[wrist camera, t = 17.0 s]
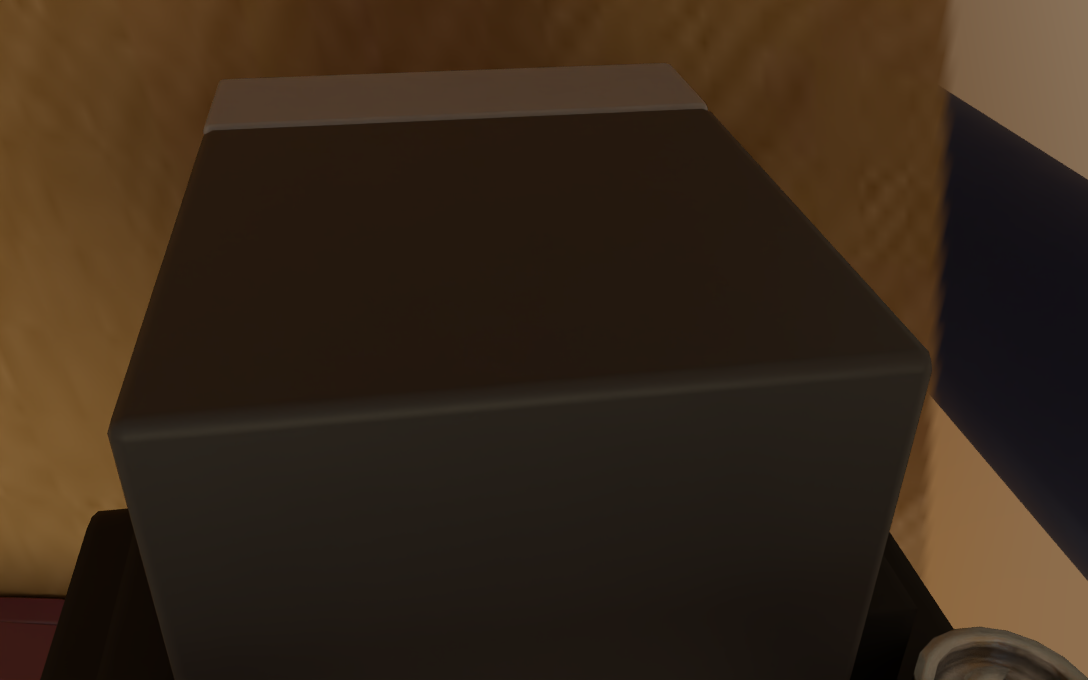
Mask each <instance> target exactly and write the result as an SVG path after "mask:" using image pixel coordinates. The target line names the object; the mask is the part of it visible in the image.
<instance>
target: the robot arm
mask: <svg viewBox="0 0 1088 680" xmlns="http://www.w3.org/2000/svg"><path fill="white" fill-rule="evenodd" d="M40 680H175V679H174V676H173V672H172V668H171V665H170V661H169V657H168V654H167V650H166V646H165V643H164V639H163V635H162V632H161V628H160V624H159V621H158V617H157V613H156V610H155V606H154V602H153V599H152V595H151V591H150V588H149V584H148V580H147V577H146V573H145V569H144V566H143V562H142V558H141V555H140V551H139V547H138V544H137V540H136V536H135V533H134V529H133V525H132V522H131V518H130V514H129V511H128V509H118V510H108V511H98V512H97V513H96V514H95V515H94V516H93V517H92V518H91V521H90V523H89V525H88V527H87V530H86V533H85V536H84V540H83V543H82V546H81V549H80V553H79V556H78V559H77V562H76V566H75V569H74V572H73V575H72V578H71V582H70V585H69V588H68V591H67V595H66V598H65V601H64V604H63V607H62V611H61V614H60V617H59V620H58V624H57V627H56V630H55V633H54V636H53V640H52V643H51V646H50V649H49V653H48V656H47V659H46V662H45V666H44V669H43V672H42V675H41V678H40ZM850 680H1088V678H1087V677H1086V676H1085V675H1084V674H1083V673H1081V672H1080V671H1079V670H1078V669H1077V668H1076V667H1075V666H1073V665H1072V664H1071V663H1070V662H1069V661H1068V660H1067V659H1065V658H1064V657H1063V656H1061V655H1059V654H1057V653H1056V652H1054V651H1052V650H1051V649H1049V648H1047V647H1046V646H1044V645H1042V644H1040V643H1039V642H1037V641H1034V640H1032V639H1029V638H1026V637H1023V636H1021V635H1018V634H1015V633H1012V632H1009V631H1005V630H998V629H991V628H984V627H972V628H962V629H953V627H952V626H951V624H950V623H949V621H948V620H947V618H946V617H945V615H944V614H943V613H942V611H941V609H940V608H939V606H938V605H937V603H936V602H935V600H934V599H933V597H932V596H931V594H930V593H929V591H928V590H927V588H926V586H925V585H924V583H923V582H922V580H921V579H920V577H919V576H918V574H917V573H916V571H915V570H914V568H913V567H912V565H911V564H910V562H909V561H908V559H907V558H906V556H905V555H904V553H903V552H902V550H901V549H900V547H899V546H898V544H897V543H896V541H895V540H894V538H893V537H892V535H891V534H890V532H889V534H888V538H887V542H886V546H885V550H884V553H883V557H882V561H881V565H880V568H879V572H878V576H877V580H876V583H875V587H874V591H873V595H872V599H871V602H870V606H869V610H868V614H867V617H866V621H865V625H864V629H863V632H862V636H861V640H860V644H859V648H858V651H857V655H856V659H855V663H854V666H853V670H852V674H851V678H850Z"/></svg>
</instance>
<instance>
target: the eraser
mask: <svg viewBox="0 0 1088 680" xmlns="http://www.w3.org/2000/svg"><path fill="white" fill-rule="evenodd" d="M203 133H204V136H203V139H202V142H201V145H200V148H199V151H198V154H197V157H196V160H195V163H194V166H193V169H192V172H191V176H190V179H189V182H188V185H187V188H186V191H185V194H184V197H183V200H182V203H181V206H180V209H179V212H178V215H177V219H176V222H175V225H174V228H173V231H172V234H171V237H170V240H169V243H168V246H167V249H166V252H165V255H164V259H163V262H162V265H161V268H160V271H159V274H158V277H157V280H156V283H155V286H154V289H153V292H152V295H151V298H150V302H149V305H148V308H147V311H146V314H145V317H144V320H143V323H142V326H141V329H140V332H139V335H138V338H137V342H136V345H135V348H134V351H133V354H132V357H131V360H130V363H129V366H128V369H127V372H126V375H125V378H124V381H123V385H122V388H121V391H120V394H119V397H118V400H117V403H116V406H115V409H114V412H113V415H112V418H111V422H110V425H109V429H108V433H107V434H108V437H109V441H110V445H111V448H112V452H113V456H114V459H115V463H116V467H117V470H118V474H119V478H120V481H121V485H122V489H123V492H124V496H125V500H126V503H127V507H128V511H129V514H130V518H131V522H132V525H133V529H134V533H135V536H136V540H137V544H138V547H139V551H140V555H141V558H142V562H143V566H144V569H145V573H146V577H147V580H148V584H149V588H150V591H151V595H152V599H153V602H154V606H155V610H156V613H157V617H158V621H159V624H160V628H161V632H162V635H163V639H164V643H165V646H166V650H167V654H168V657H169V661H170V665H171V668H172V672H173V676H174V679H175V680H850V678H851V674H852V670H853V666H854V663H855V659H856V655H857V651H858V648H859V644H860V640H861V636H862V632H863V629H864V625H865V621H866V617H867V614H868V610H869V606H870V602H871V599H872V595H873V591H874V587H875V583H876V580H877V576H878V572H879V568H880V565H881V561H882V557H883V553H884V550H885V546H886V542H887V538H888V534H889V531H890V527H891V523H892V519H893V516H894V512H895V508H896V504H897V501H898V497H899V493H900V489H901V485H902V482H903V478H904V474H905V470H906V467H907V463H908V459H909V455H910V452H911V448H912V444H913V440H914V436H915V433H916V429H917V425H918V421H919V418H920V414H921V410H922V406H923V402H924V399H925V395H926V391H927V387H928V384H929V380H930V376H931V372H932V364H931V358H930V355H929V351H928V350H927V349H926V348H925V347H924V346H923V345H922V344H921V343H920V341H919V340H918V339H917V338H916V337H915V336H914V335H913V334H912V333H911V332H910V330H909V329H908V328H907V327H906V326H905V325H904V324H903V323H902V322H901V321H900V319H899V318H898V317H897V316H896V315H895V314H894V313H893V312H892V311H891V310H890V308H889V307H888V306H887V305H886V304H885V303H884V302H883V301H882V300H881V299H880V297H879V296H878V295H877V294H876V293H875V292H874V291H873V290H872V289H871V288H870V286H869V285H868V284H867V283H866V282H865V281H864V280H863V279H862V278H861V277H860V275H859V274H858V273H857V272H856V271H855V270H854V269H853V268H852V267H851V266H850V264H849V263H848V262H847V261H846V260H845V259H844V258H843V257H842V256H841V255H840V253H839V252H838V251H837V250H836V249H835V248H834V247H833V246H832V245H831V244H830V242H829V241H828V240H827V239H826V238H825V237H824V236H823V235H822V234H821V233H820V231H819V230H818V229H817V228H816V227H815V226H814V225H813V224H812V223H811V222H810V220H809V219H808V218H807V217H806V216H805V215H804V214H803V213H802V212H801V211H800V209H799V208H798V207H797V206H796V205H795V204H794V203H793V202H792V201H791V200H790V198H789V197H788V196H787V195H786V194H785V193H784V192H783V191H782V190H781V189H780V187H779V186H778V185H777V184H776V183H775V182H774V181H773V180H772V179H771V178H770V176H769V175H768V174H767V173H766V172H765V171H764V170H763V169H762V168H761V167H760V165H759V164H758V163H757V162H756V161H755V160H754V159H753V158H752V157H751V156H750V154H749V153H748V152H747V151H746V150H745V149H744V148H743V147H742V146H741V145H740V143H739V142H738V141H737V140H736V139H735V138H734V137H733V136H732V135H731V134H730V132H729V131H728V130H727V129H726V128H725V127H724V126H723V125H722V124H721V123H720V121H719V120H718V119H717V118H716V117H715V116H714V115H713V114H712V113H711V112H710V111H708V108H707V105H706V103H705V102H704V101H703V100H702V99H701V98H700V97H699V96H698V94H697V93H696V92H695V91H694V90H693V89H692V88H691V87H690V86H689V85H688V83H687V82H686V81H685V80H684V79H683V78H682V77H681V76H680V75H679V74H678V73H677V71H676V70H675V69H674V68H673V67H672V66H671V65H670V64H667V63H651V64H624V65H597V66H570V67H543V68H516V69H488V70H461V71H434V72H407V73H380V74H353V75H326V76H299V77H272V78H245V79H224V80H221V81H219V84H218V87H217V90H216V93H215V96H214V99H213V102H212V105H211V108H210V111H209V114H208V117H207V120H206V123H205V126H204V130H203Z"/></svg>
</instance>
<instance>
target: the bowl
mask: <svg viewBox="0 0 1088 680" xmlns="http://www.w3.org/2000/svg"><path fill="white" fill-rule="evenodd" d="M64 601H65V599H58V598H25V597H0V680H40V678H41V675H42V672H43V669H44V666H45V662H46V659H47V656H48V653H49V649H50V646H51V643H52V640H53V636H54V633H55V630H56V627H57V624H58V620H59V617H60V614H61V611H62V607H63V604H64Z"/></svg>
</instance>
